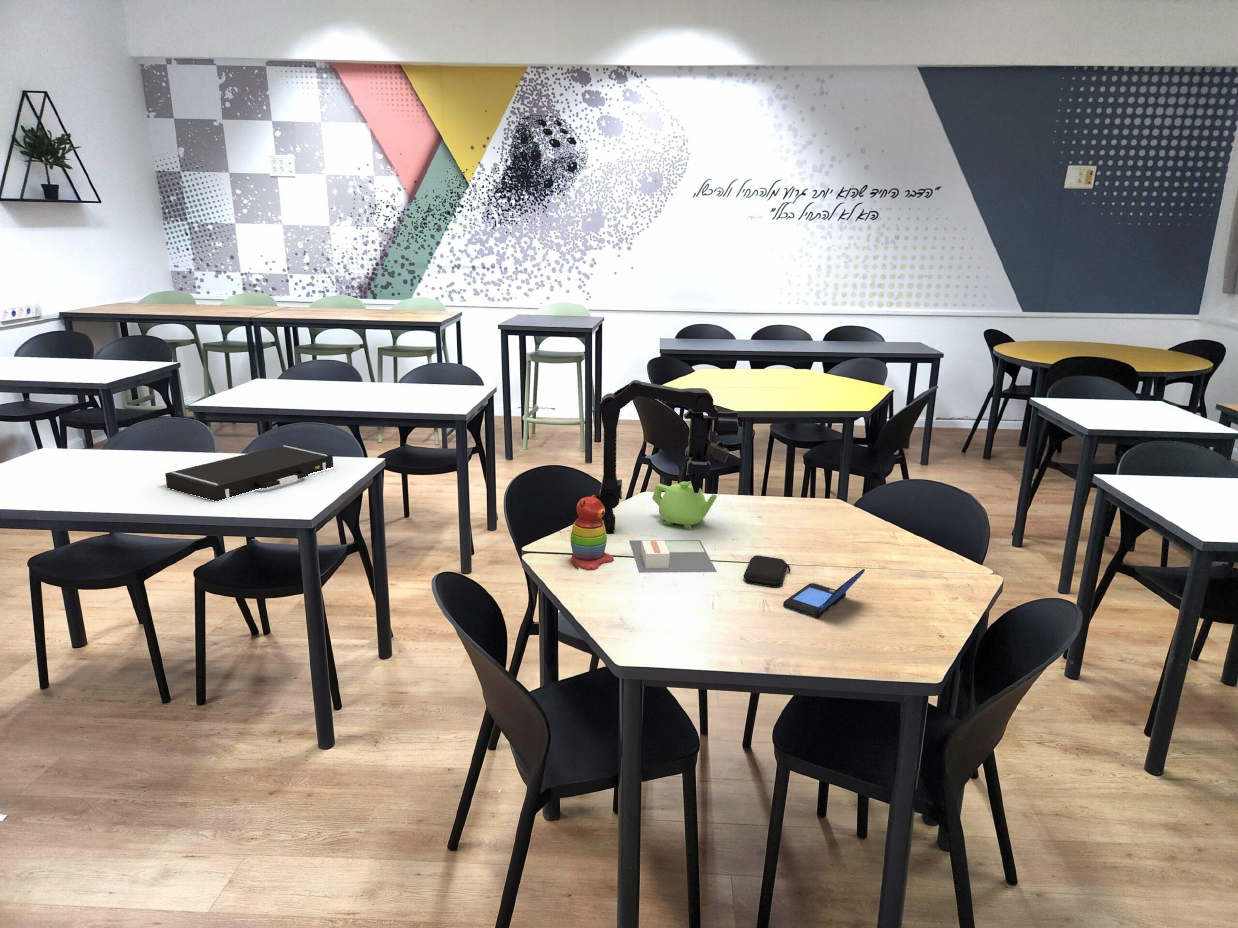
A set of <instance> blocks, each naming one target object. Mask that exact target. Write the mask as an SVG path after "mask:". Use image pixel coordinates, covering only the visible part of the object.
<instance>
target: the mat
mask: <svg viewBox="0 0 1238 928" xmlns="http://www.w3.org/2000/svg"><path fill="white" fill-rule="evenodd" d="M628 541H629V546H630V548H631V551H632V555H633V558H634V561H635V564H636V568H637V572H638V573H639V574H642V573H643V574H645V573H646V574H649V573H650V574H651V573H653V574H654V573H657V574H658V573H662V574H663V573H717V572H718V571H717V569H716V567H715V566H714V563H713V562H712V560H711V558H710V556H709V555H708V552H707V550H706V549H705V547H704V545H703V543H702V541H701V539H690V540H689V539H680V540H679V539H677V540H676V539H672V540H671V539H670V540H667V539H661V540H660V539H657V540H656V539H655V540H654V539H653V540H651V539H649V540H647V539H646V540H645V539H643V540H639V539H638V540H637V539H636V540H635V539H633V540H628ZM642 541H664V542H665V544H666V546H667V549H668V551H669V553H670V555H669V568H645V565H644V562H643V559H642V556H641V545H642Z"/></svg>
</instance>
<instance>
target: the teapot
mask: <svg viewBox="0 0 1238 928" xmlns="http://www.w3.org/2000/svg"><path fill="white" fill-rule="evenodd" d="M662 491H663V492H664V494H663V495H662V493H663V492H662ZM651 498H652V500H653V501H654V503H656V505H657V506H658V513H659V516H660V517H661V519H662V520H664V521H665V522H664V525H667V526H673V525H674V524H676V525H683V529H687V530H692V529H693V527H692V526H693V525H697V524H699V523H700V522H702V520H703V519H704V518H705V517H706V515H707V514H708V512H709V511H710V509H711V508H712V506H713V504H714V502H715V501H716V500H717V498H718V495H716V494H711V495H710V497H709V498H708V499H707V501H706V498H705V494H704V493H703V490H702V489H701V488H700V489H699V492H698V493H694V490H693V487H692V484H690V482H688V481H680V482H679V483H674V484H672V485H670V486H669V485H666V484H662V483H657V484H656V486H655V488H654V490H653V496H652V497H651Z"/></svg>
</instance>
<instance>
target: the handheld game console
mask: <svg viewBox="0 0 1238 928" xmlns="http://www.w3.org/2000/svg"><path fill="white" fill-rule="evenodd" d="M865 571H866V569H865V568H862V569H861V570H859V572H857V573H855V574H854V575H853V576H852V577H851V578H849V579H847V581H845V582H843V584H841V585H840V586H839V587H837V588H836V589H834V588H832V587H827V586H826V585H823V584H819V583H815V582H810V583H808V584H807V585H805V586H803V587H802V588H801V589H800V590H798V591H796V592H795V593H794V594H793V595H791V596H790V597H788V598H787V599H785V600H783V603H782V606H783V607H784V608H785V609H787V610H791V611H793V612H796V613H799V614H802V615H806V616H808V617H811V618H814V619H816V620H818V619H820V618H821V617H822V616H823V615H825V614H826V613H827V612H828V611H829V610H830V608H831V607H834V606H836V605H837V604H838V603H840V602H841V601H843V600H844V599H846V596H847V591H848V590H850V588H851V587H853V585H854V584H855V583H856V582H857V581H858V579H860V578H861V576H862V575H863V574H864V573H865Z"/></svg>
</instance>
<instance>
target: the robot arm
mask: <svg viewBox="0 0 1238 928" xmlns="http://www.w3.org/2000/svg"><path fill="white" fill-rule="evenodd" d="M638 397H641V398H647V399H653V400H658V401H663V402H668V403H674V404H679V405H681V406H684V407H685V408H688V410H687V411H686V412H685V413H683V418H684V419H686V420H690V421H689V435H688V446H686V447H685V461H686V465H687V466H686V469H687V470H686V471H687V474H688V478H689V480H690V483H691V484H690V485H692V487H693V490H694V493H698V492H699V489H701V486H702V483H703V480H704V477H706V476H707V475H709V474H710V473H711V470H712V469H711V468H712V465H711V462H710V459H711V458H712V459H715V460H717V461H719V462H720V463H723V464H725V463H726V461H727V459H728V457H729V455H730V451H729V449H728V448H727V447H725V443H724V442H723V441H720V440H718V441H717V442H716V443H715V442H712V440H711V437H710V436H711V431H712V433H713V432H715V436H719V437H720V436H722V437H723V436H725V437H737V436H738V434H739V419H738V415H739V413H738V412H737V411H721V410H720V411H718V408H717V407H716V406H715V405H714V397H713V395H712V394H711V393H710V391H709V390H708V389H707V388H703V387H689V388H687V387H686V388H680V387H679V388H678V387H672V386H667V385H661V384H658V383H657V384H656V383H651V382H645V381H641V380H639V379H633V380H631V381H629V383H628V384H626V385H624V386H622V387H621V388H619V389H617V390H616V391H615V392H613V393H612V392H610V393H606V394H604V395H603V396H602V397H601V399H600V404H599V412H600V417H601V423H602V424H601V425H602V427H603V461H602V462H603V472H602V473H603V475H602V480H601V485H600V491H599V493H598V494H597V495H596V497H597V499H599V500H600V501H601V503H602V504H603V506H604V508H605V513H604V515H603V517H602V520H603V521H604V525H605V530H606V534H607V535H614V534H615V533H614V531H615V530H616V516H615V515H616V514H614V509H616V508H617V506H619V504H620V500H622V499H623V490H622V487H623V479H618V477H617V476H618V475H617V436H618V434H617V431H618V429H617V428H618V424H619V419H620V414H621V409H623V408H624V407H626V406H627V405H628V404H629V403H631V402H632V401H633V400H635V399H636V398H638ZM704 413H706V415H705V414H704ZM711 425H712V427H711ZM711 429H712V430H711Z"/></svg>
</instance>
